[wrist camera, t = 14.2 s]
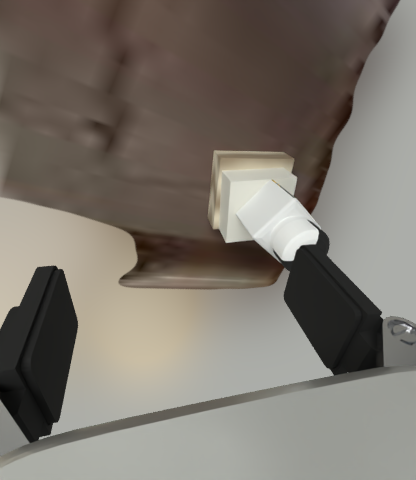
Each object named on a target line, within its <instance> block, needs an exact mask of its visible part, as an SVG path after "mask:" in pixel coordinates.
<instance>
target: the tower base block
mask: <svg viewBox="0 0 416 480" xmlns="http://www.w3.org/2000/svg"><path fill="white" fill-rule="evenodd" d="M294 160H295V159H294V158H292V157H290V156H289V155H287V154H286V153H284V152H258V151H214V155H213V166H212V177H211V188H210V199H209V210H208V220H209V222H210V224H211V226H212V228H213V229H219V214H220V196H221V178H222V171H227V170H246V169H265V168H285V169H286V170H288V171H289V172H290V173H291V172H292V168H293V164H294Z"/></svg>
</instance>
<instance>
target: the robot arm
mask: <svg viewBox="0 0 416 480" xmlns="http://www.w3.org/2000/svg"><path fill="white" fill-rule="evenodd" d="M284 300H285V302H286V304H287V306H288V307H289V309H290V310H291V312H292V314H293V315H294V317H295V318H296V320H297V322H298V323H299V325H300V327H301V328H302V330H303V331H304V333H305V334H306V336H307V338H308V339H309V341H310V343H311V344H312V346H313V347H314V349H315V350H316V352H317V354H318V355H319V357H320V358H321V360H322V362H323V363H324V365H325V366H326V367H327V368H329V369H330V370H331V371H332V373H333V374H334V376H330V377H324V378H320V379H314V380H309V381H304V382H300V383H294V384H289V385H285V386H279V387H274V388H270V389H265V390H259V391H255V392H250V393H245V394H240V395H235V396H230V397H225V398H221V399H215V400H211V401H206V402H201V403H196V404H191V405H186V406H182V407H177V408H173V409H167V410H163V411H158V412H153V413H148V414H144V415H139V416H134V417H129V418H125V419H120V420H116V421H111V422H107V423H103V424H99V425H94V426H89V427H85V428H81V429H76V430H72V431H69V432H65V433H62V434H58V435H55V436H50V437H47V438H44V439H41V440H39V437H42V436H47V435H50V434H51V429H52V425H53V423H56V422H58V421H59V418H60V414H61V409H62V404H63V399H64V394H65V389H66V384H67V379H68V374H69V369H70V364H71V359H72V354H73V349H74V344H75V339H76V334H77V328H78V321H77V317H76V313H75V310H74V306H73V302H72V299H71V295H70V292H69V289H68V285H67V281H66V278H65V274H64V271H63V270H62V269H58V268H57V267H56V266H46V267H45V266H44V267H38V268H37V269H36V271H35V273H34V275H33V277H32V280H31V282H30V284H29V286H28V288H27V290H26V292H25V295H24V297H23V299H22V302H21V304H20V306H18V307H13V308H12V309H10V311H9V313H8V314H7V317H6V319H5V321H4V323H3V325H2V327H1V329H0V480H416V324H414V323H413V322H411V321H409V320H406V319H404V318H400V317H394V316H390V317H386V319H384V320H383V319H382V318H381V317H380V315H381V314H382V312H381V311H380V310H379V309H378V308H377V307H376V306H375V305H374V304H373V302H371V300H370V299H369V298H368V297H367V296H366V295H365V294H364V293H363V292H362V291H361V290H360V289H359V288H358V287H357V286H356V285H355V284H354V283H353V282H352V281H351V280H350V279H349V278H348V277H347V276H346V275H345V274H344V273H343V272H342V271H341V270H340V269H339V268H338V267H337V266H336V265H335V264H334V263H333V262H332V261H331V259H329V257H328V256H327V255H326V254H325V253H324V252H323V251H322V250H321V249H320V248H319V247H318V246H317V245H315V244H309V245H301V246H300V248H299V249H297V250H296V253H295V257H294V260H293V264H292V267H291V271H290V274H289V278H288V281H287V285H286V288H285V292H284Z"/></svg>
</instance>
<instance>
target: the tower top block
mask: <svg viewBox="0 0 416 480" xmlns="http://www.w3.org/2000/svg"><path fill="white" fill-rule="evenodd" d="M271 179H272V180H274V181H275V182H276V183H278V184H279V185H280V186H281V187H283V188H284V189H285V190H286V191H288V192H289V193H290V194H291V195H293V196H294V192H295V187H296V182H297V177H296V176H294V175H293V174H292V173H290V172H289V171H288V170H286V169H285V168H265V169H246V170H227V171H222V178H221V196H220V214H219V230H220V232H221V234H222V236H223V238H224V240H225V242H226V243H230V242H239V241H248V240H254V239H253V238H252V237H251V235H250V234H249V233H248V231H247V230H246V228H245V227H244V226H243V224H242V223H241V221H240V220H239V219H238V217H237V216H236V212H237V211H238V210H239V209H240V208H242V207H243V206H244V205H245V204H246V203H247V202H248V201H249V200H250V199H251V198H252V197H253V196H254V195H255V194H256V193H257V192H258V191H259V190H260V189H261V188H262V187H263V186H264V185H265V184H266V183H267V182H268V181H269V180H271Z"/></svg>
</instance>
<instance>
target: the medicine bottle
mask: <svg viewBox="0 0 416 480" xmlns="http://www.w3.org/2000/svg"><path fill="white" fill-rule="evenodd" d="M236 216H237V217H238V219H239V220H240V221H241V223H242V224H243V226H244V227H245V228H246V230H247V231H248V233H249V234H250V235H251V237H252V238H253V239H254V240H255V241H256V242H257V243H258V244H260V245H261V246H262V247H263V248H264V249H265V250H266V251H267V252H269V253H270V254H271V255H272V256H273V257H274V258H275V259H277V260H278V261H279V262H280V263H282V265H283V266H284V267H285V268H286V269H287V270H288V271H291V267H292V264H293V260H294V257H295V253H296V250H297V249H299V248H300V246H301V245H309V244H315V245H317V246H318V247H319V248H320V249H321V250H322V251H323V252H324V253H325V254H326V255H327V253H328V250H329V238H328V236H327V235H326V233H324V232H323V231H322V230H321V227H320V226H319V224H317V222H316V221H315V220H314V219H313V217H312V216H311V215H310V214H309V213H308V212H307V210H306V209H305V208H304V207H303V206H302V205H301V203H300V202H299V201H298V200H297V199H296V198H295V197H294V196H293V195H291V194H290V193H289V192H288V191H286V190H285V189H284V188H283V187H281V186H280V185H279V184H278V183H276V182H275V181H274V180H272V179H271V180H269V181H268V182H267V183H266V184H265V185H264V186H263V187H262V188H261V189H260V190H259V191H258V192H257V193H256V194H255V195H254V196H253V197H252V198H251V199H250V200H249V201H248V202H247V203H246V204H245V205H244V206H243V207H242V208H240V209H239V210H238V211H237V212H236Z"/></svg>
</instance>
